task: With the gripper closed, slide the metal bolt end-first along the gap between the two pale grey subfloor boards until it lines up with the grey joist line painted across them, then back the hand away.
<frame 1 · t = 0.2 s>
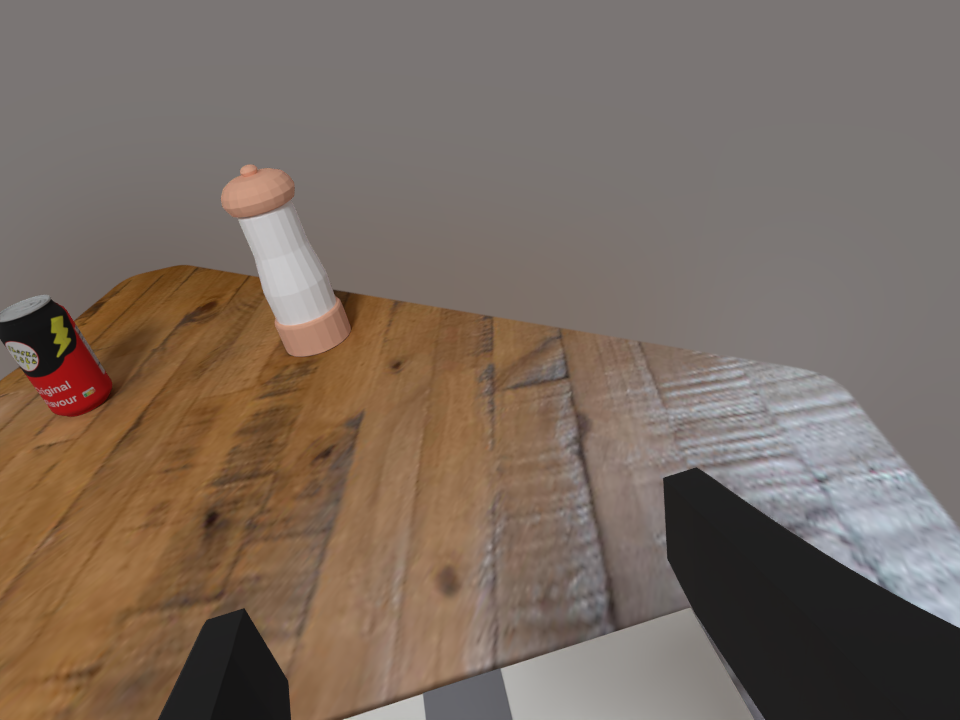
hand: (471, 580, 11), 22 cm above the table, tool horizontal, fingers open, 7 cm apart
pepper shaker: (319, 340, 71), on the table
beverage can: (88, 404, 71), on the table
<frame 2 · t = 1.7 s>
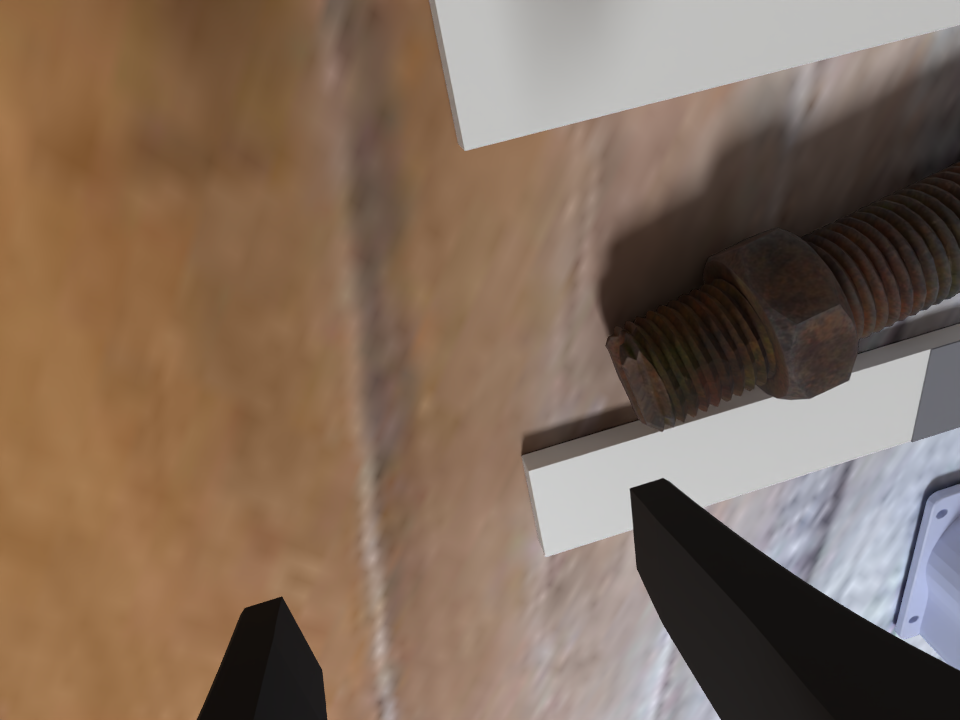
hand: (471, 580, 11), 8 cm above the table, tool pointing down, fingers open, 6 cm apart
bolt: (816, 232, 20), on the table
subfloor: (939, 197, 20), on the table
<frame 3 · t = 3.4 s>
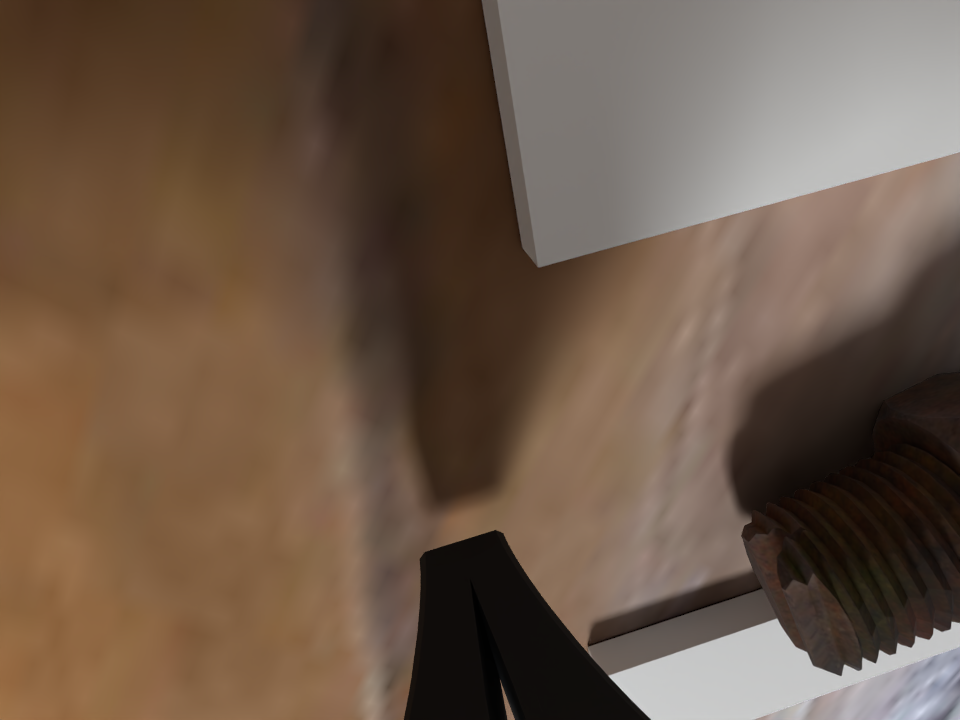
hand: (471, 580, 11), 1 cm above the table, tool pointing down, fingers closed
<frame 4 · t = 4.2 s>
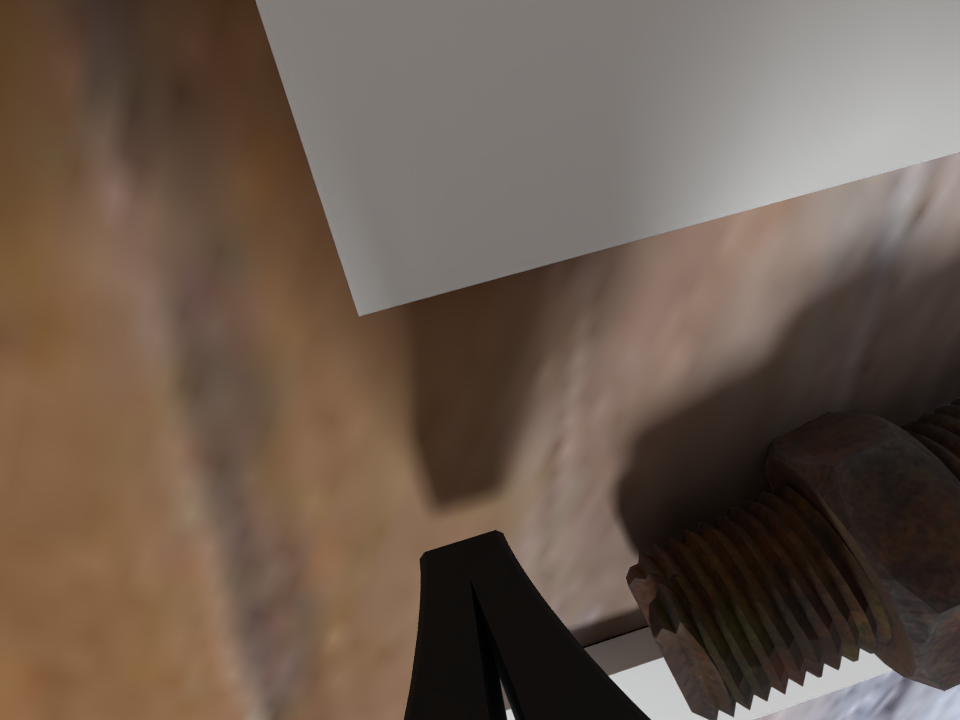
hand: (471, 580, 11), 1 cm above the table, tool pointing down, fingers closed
bolt: (922, 388, 14), on the table
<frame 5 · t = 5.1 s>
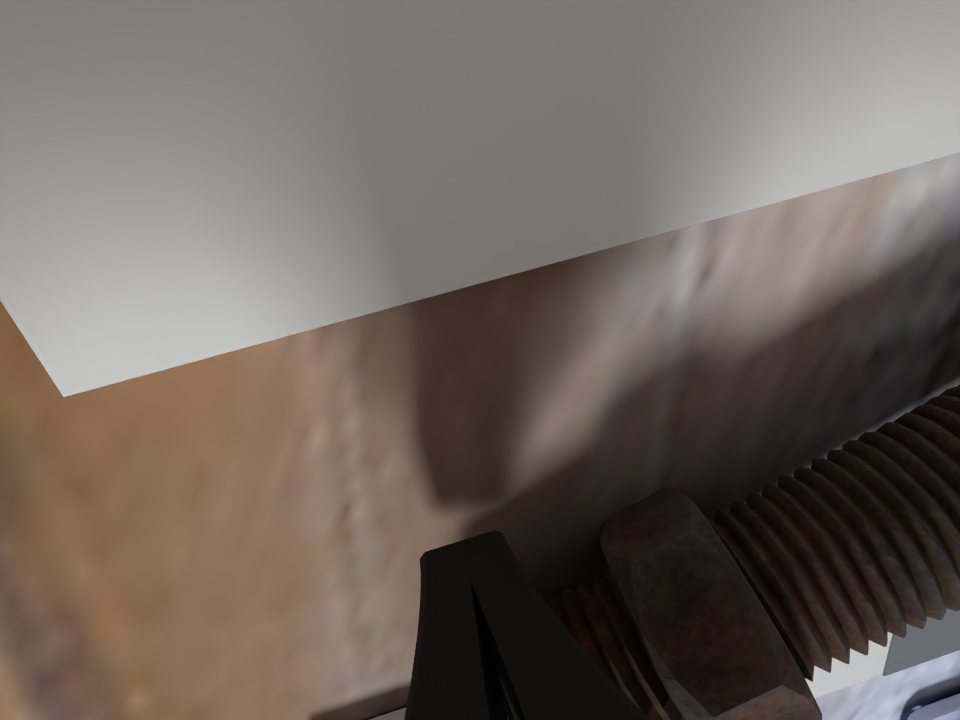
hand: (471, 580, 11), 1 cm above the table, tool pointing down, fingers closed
bolt: (767, 455, 14), on the table
subfloor: (916, 380, 13), on the table
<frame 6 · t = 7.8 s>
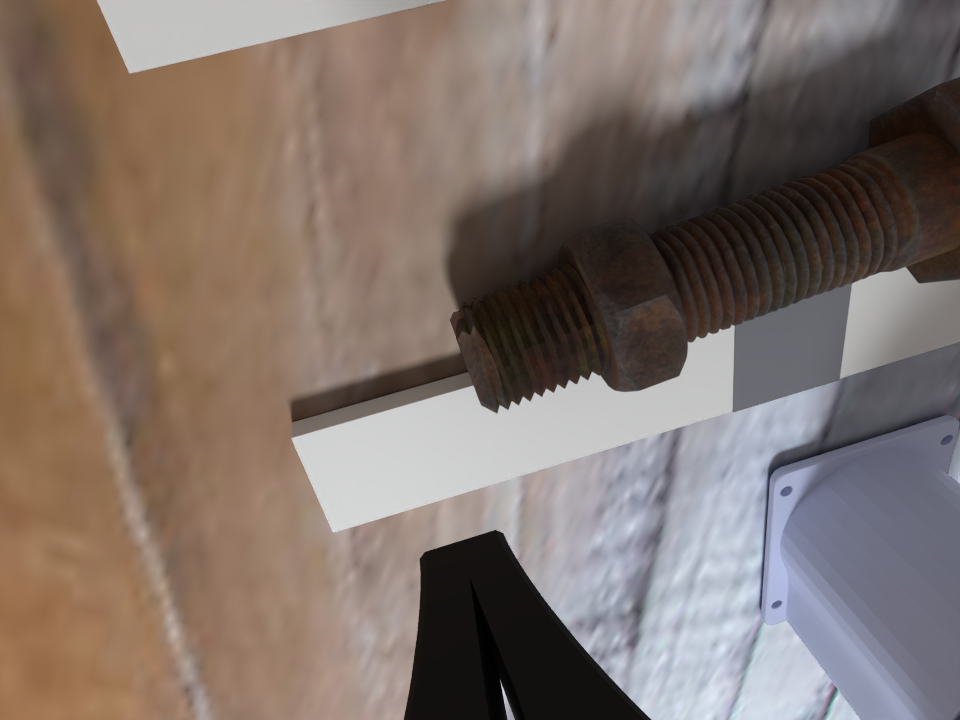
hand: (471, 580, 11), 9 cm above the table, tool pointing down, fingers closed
bolt: (678, 234, 20), on the table
subfloor: (722, 142, 18), on the table
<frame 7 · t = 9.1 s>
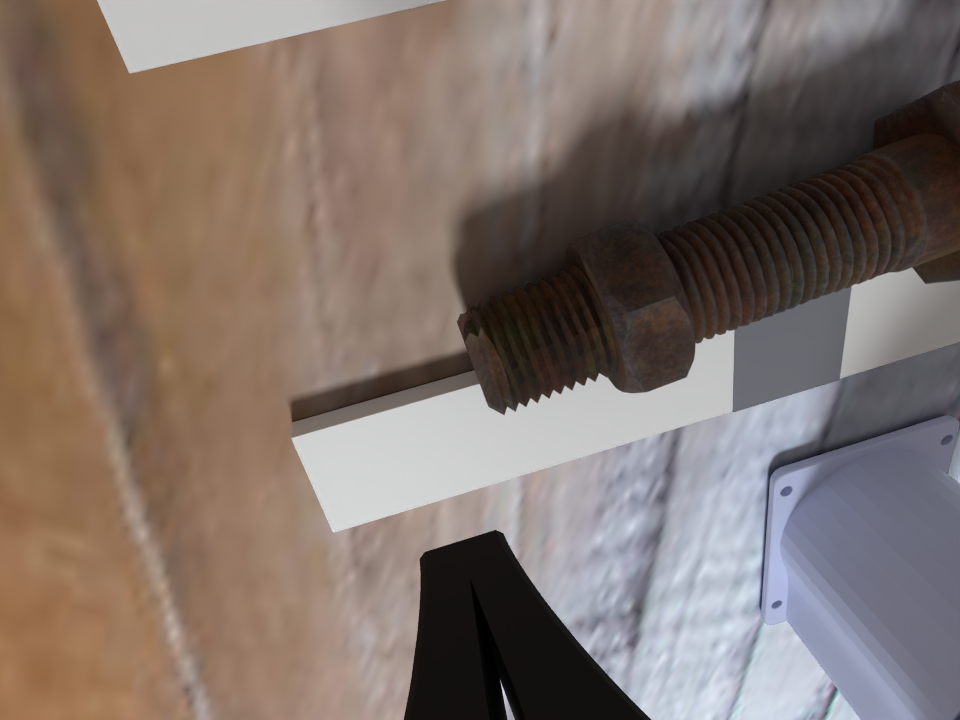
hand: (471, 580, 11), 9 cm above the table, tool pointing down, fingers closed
bolt: (684, 235, 20), on the table
subfloor: (722, 142, 18), on the table
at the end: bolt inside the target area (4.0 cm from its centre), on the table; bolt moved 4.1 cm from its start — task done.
